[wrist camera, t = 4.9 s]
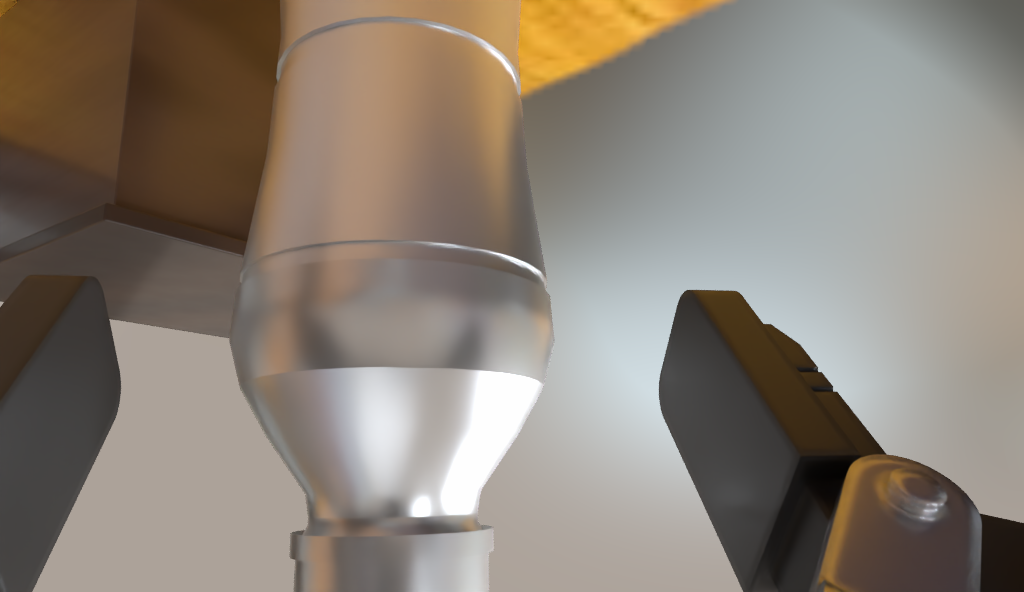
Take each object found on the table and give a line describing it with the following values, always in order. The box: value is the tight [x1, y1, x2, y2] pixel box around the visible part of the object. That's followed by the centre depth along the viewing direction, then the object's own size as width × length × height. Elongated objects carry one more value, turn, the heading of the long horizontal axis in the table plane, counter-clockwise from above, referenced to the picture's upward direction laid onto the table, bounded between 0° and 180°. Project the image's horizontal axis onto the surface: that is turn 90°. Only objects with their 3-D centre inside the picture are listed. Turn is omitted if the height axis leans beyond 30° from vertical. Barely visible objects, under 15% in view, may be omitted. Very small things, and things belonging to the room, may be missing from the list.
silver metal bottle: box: [229, 0, 554, 592], centre depth 16 cm, size 6×7×20 cm
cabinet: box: [0, 0, 281, 338], centre depth 28 cm, size 13×12×11 cm
